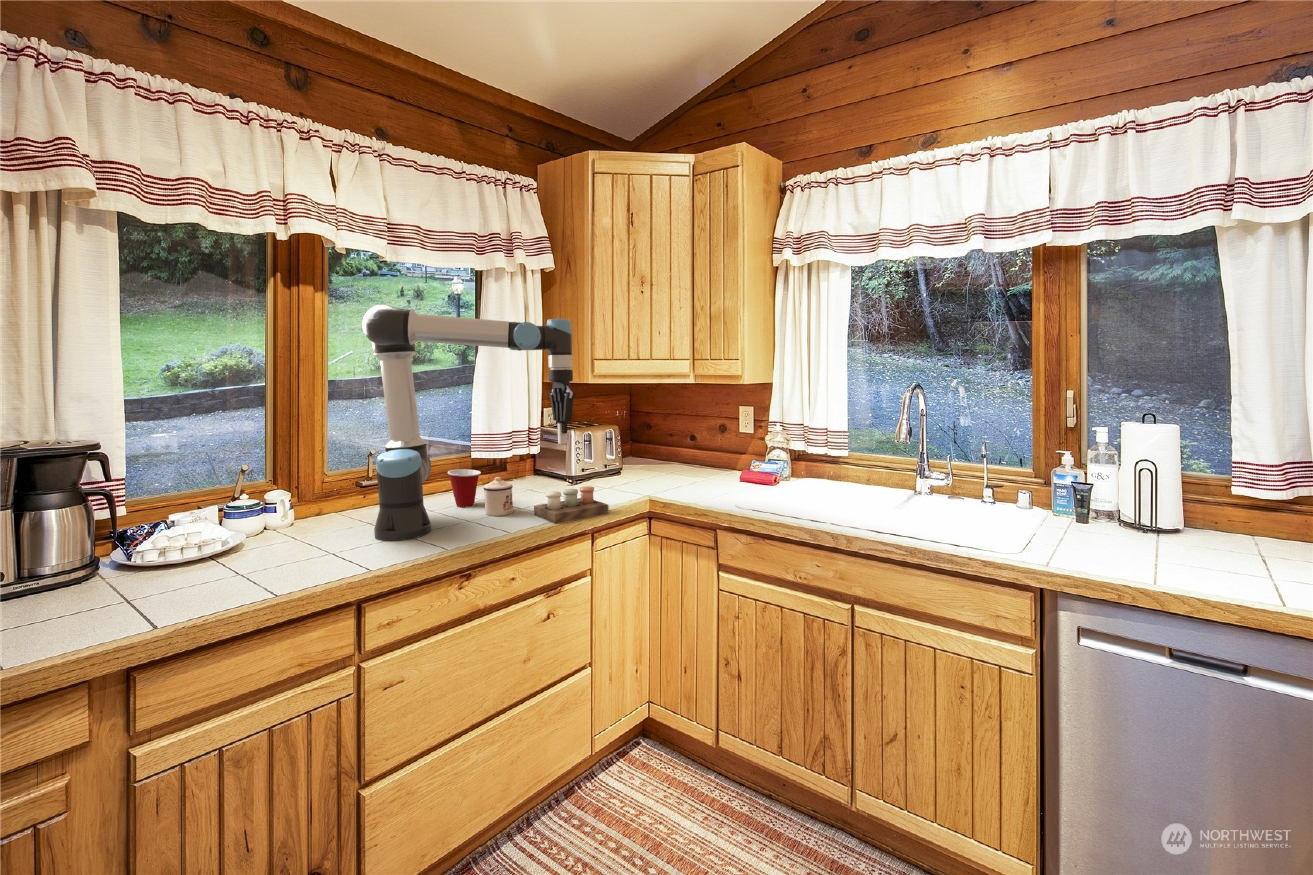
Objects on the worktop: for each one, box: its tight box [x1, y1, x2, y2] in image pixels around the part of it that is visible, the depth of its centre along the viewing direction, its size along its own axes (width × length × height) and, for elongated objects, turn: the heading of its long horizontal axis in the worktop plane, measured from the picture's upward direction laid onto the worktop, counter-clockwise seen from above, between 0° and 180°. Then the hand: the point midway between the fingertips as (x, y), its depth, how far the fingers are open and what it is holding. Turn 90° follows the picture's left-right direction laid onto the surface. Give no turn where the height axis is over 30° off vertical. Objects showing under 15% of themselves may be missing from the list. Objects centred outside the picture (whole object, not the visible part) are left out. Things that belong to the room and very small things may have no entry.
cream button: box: [545, 490, 562, 511], centre depth 191 cm, size 5×5×5 cm
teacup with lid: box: [483, 476, 514, 517], centre depth 199 cm, size 12×9×12 cm
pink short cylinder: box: [579, 485, 595, 505], centre depth 199 cm, size 5×5×5 cm
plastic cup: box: [447, 468, 482, 508], centre depth 209 cm, size 11×11×12 cm
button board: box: [533, 497, 609, 525], centre depth 195 cm, size 19×14×3 cm
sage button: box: [562, 488, 579, 508], centre depth 195 cm, size 5×5×5 cm
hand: (563, 443), depth 196 cm, fingers closed
